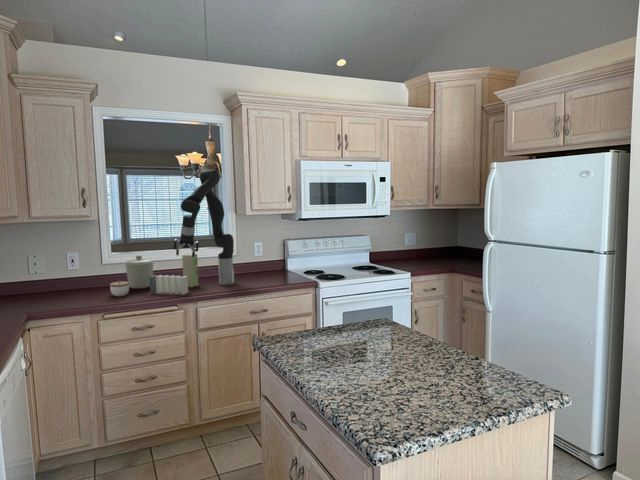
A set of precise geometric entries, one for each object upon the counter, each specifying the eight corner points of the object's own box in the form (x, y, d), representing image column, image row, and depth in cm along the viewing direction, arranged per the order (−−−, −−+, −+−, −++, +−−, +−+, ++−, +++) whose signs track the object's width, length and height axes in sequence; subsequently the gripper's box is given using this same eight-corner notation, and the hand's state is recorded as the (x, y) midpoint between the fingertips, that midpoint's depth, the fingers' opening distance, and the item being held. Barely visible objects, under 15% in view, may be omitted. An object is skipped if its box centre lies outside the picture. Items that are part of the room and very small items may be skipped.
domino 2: (163, 291, 276) (162, 275, 275) (158, 293, 271) (157, 276, 270) (161, 291, 276) (160, 275, 275) (156, 292, 272) (155, 276, 270)
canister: (122, 291, 281) (120, 257, 278) (128, 285, 298) (126, 253, 296) (153, 289, 284) (151, 256, 282) (157, 283, 302) (155, 252, 299)
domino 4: (175, 291, 274) (174, 275, 273) (171, 293, 269) (170, 277, 268) (173, 291, 274) (172, 275, 273) (168, 293, 269) (167, 277, 268)
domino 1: (157, 290, 277) (156, 274, 276) (152, 292, 272) (151, 276, 271) (155, 290, 277) (154, 274, 276) (150, 292, 273) (149, 276, 271)
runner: (190, 292, 273) (190, 291, 273) (182, 296, 265) (182, 295, 265) (156, 291, 280) (156, 290, 279) (147, 294, 271) (147, 293, 271)
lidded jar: (111, 298, 261) (109, 282, 260) (110, 295, 271) (109, 279, 270) (131, 296, 266) (130, 280, 265) (129, 293, 276) (128, 277, 274)
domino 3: (169, 291, 275) (168, 275, 274) (164, 293, 270) (164, 276, 269) (167, 291, 275) (166, 275, 274) (162, 293, 270) (161, 276, 269)
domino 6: (188, 292, 271) (187, 276, 270) (183, 294, 267) (182, 277, 266) (185, 292, 272) (184, 276, 271) (181, 294, 267) (180, 277, 266)
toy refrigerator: (194, 288, 286) (192, 255, 284) (183, 287, 288) (181, 255, 286) (199, 285, 294) (198, 253, 292) (189, 285, 296) (187, 253, 293)
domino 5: (181, 292, 273) (181, 275, 271) (177, 293, 268) (176, 277, 267) (179, 292, 273) (178, 275, 272) (174, 293, 268) (174, 277, 267)
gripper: (200, 230, 270) (197, 253, 277) (175, 227, 266) (173, 251, 273) (200, 236, 264) (197, 260, 271) (174, 233, 260) (172, 257, 267)
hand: (185, 255), depth 272 cm, fingers open, 8 cm apart
